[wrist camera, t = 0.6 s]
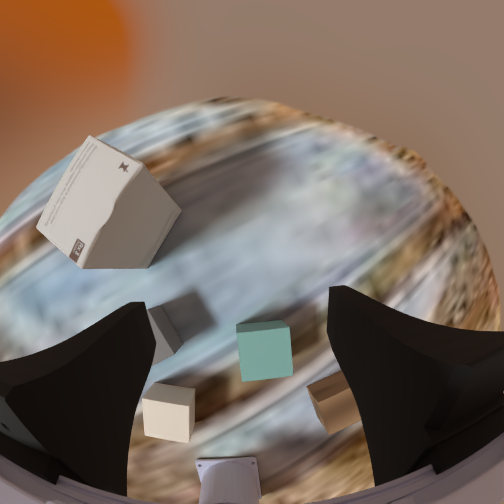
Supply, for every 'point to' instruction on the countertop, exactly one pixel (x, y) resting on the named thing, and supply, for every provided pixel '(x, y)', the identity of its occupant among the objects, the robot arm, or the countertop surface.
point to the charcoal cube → (163, 334)
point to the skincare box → (108, 210)
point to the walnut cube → (334, 402)
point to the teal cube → (264, 350)
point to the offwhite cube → (169, 412)
